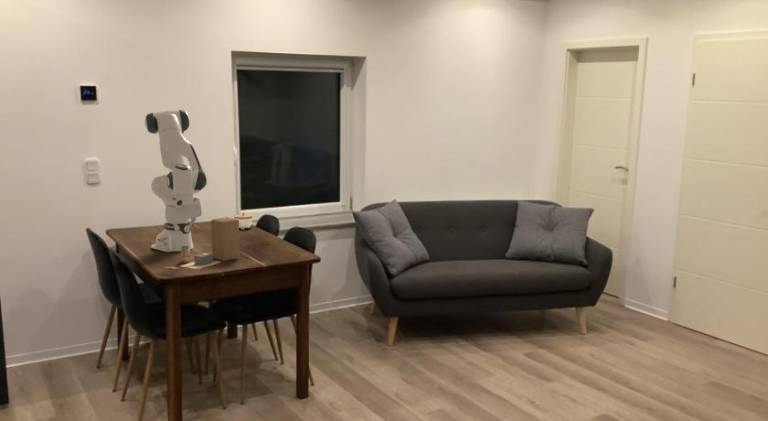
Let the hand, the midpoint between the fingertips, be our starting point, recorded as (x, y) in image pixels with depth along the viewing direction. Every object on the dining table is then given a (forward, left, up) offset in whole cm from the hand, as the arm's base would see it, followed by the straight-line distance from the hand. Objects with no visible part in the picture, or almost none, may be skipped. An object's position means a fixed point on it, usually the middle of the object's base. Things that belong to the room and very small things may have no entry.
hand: (184, 228), depth 316 cm
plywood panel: (+9, 0, -17) cm, 19 cm away
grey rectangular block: (+9, +2, -16) cm, 19 cm away
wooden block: (+10, +17, -17) cm, 26 cm away
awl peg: (0, 0, -17) cm, 17 cm away
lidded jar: (-34, +83, -17) cm, 91 cm away
